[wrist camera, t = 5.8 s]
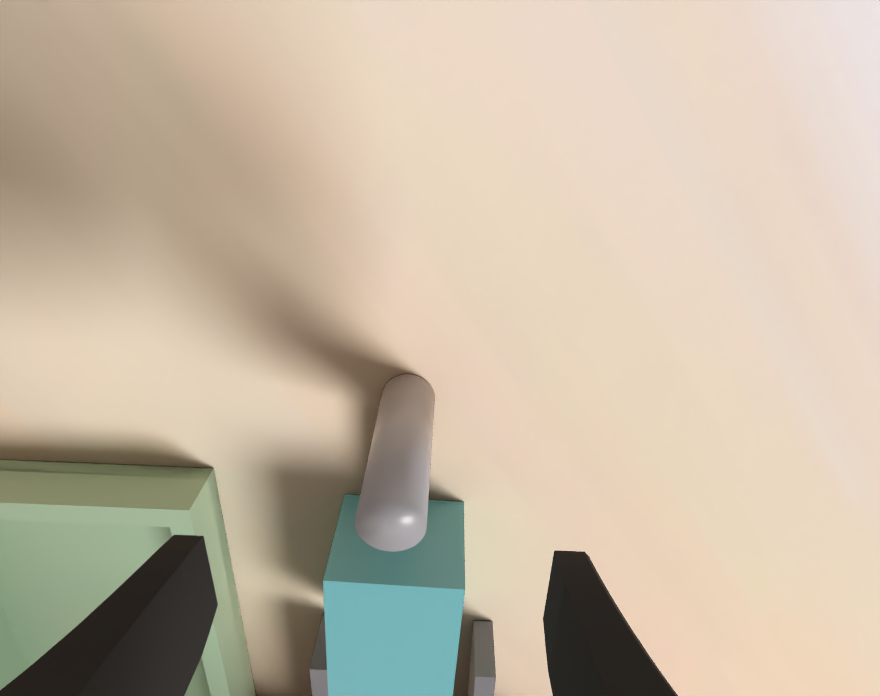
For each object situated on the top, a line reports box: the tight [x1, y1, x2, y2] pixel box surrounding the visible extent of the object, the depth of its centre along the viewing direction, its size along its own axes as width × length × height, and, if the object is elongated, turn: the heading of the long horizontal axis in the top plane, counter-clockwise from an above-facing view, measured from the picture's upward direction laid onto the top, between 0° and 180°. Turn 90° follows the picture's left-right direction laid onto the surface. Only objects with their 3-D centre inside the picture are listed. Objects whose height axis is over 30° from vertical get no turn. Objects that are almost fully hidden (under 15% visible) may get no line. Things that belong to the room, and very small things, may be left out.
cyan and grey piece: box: [323, 374, 465, 696], centre depth 19 cm, size 11×4×6 cm, turn 176°
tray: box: [0, 460, 256, 696], centre depth 24 cm, size 15×11×2 cm
